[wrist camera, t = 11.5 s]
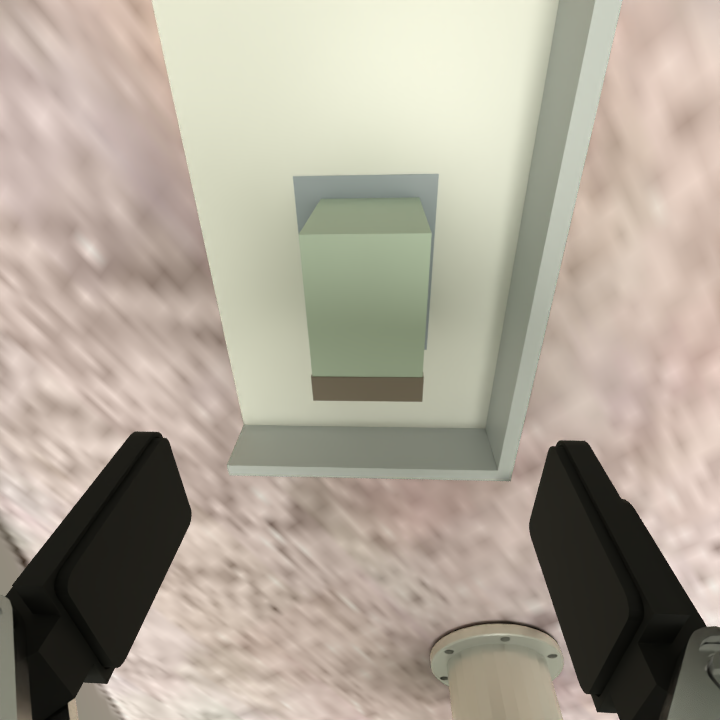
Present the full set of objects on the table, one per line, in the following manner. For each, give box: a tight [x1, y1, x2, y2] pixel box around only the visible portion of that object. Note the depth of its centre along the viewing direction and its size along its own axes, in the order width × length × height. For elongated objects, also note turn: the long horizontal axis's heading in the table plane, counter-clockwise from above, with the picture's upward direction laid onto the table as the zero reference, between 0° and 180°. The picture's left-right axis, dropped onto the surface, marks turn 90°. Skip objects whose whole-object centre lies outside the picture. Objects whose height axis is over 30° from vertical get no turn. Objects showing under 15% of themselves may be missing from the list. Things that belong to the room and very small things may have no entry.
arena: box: [152, 0, 622, 481], centre depth 20 cm, size 22×16×4 cm
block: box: [299, 197, 432, 402], centre depth 19 cm, size 5×7×6 cm, turn 1°
